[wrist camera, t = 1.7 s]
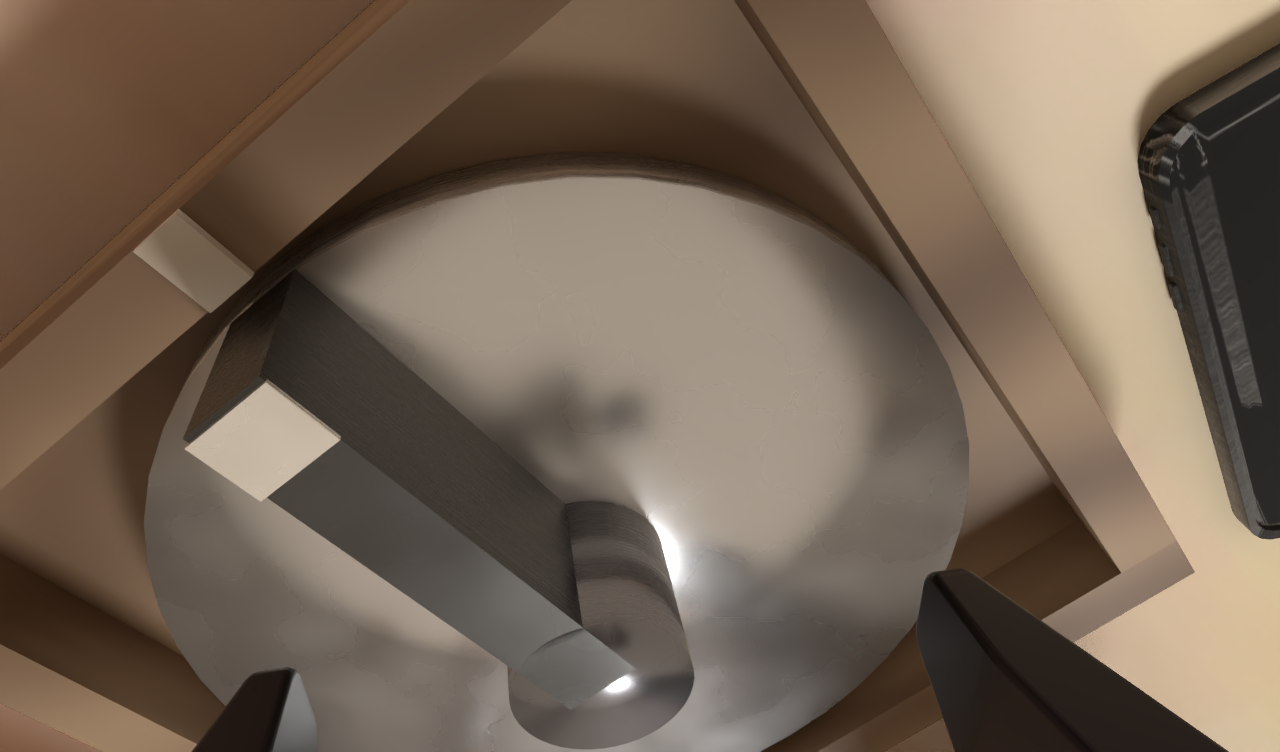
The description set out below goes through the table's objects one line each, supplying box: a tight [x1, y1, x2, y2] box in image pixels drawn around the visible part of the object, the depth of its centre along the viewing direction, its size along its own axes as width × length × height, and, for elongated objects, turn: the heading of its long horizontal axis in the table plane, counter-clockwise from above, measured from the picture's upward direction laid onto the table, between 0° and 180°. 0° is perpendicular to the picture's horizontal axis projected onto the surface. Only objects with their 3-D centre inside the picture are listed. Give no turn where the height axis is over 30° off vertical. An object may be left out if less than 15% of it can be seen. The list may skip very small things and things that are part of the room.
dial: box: [144, 152, 969, 752], centre depth 20 cm, size 18×18×5 cm
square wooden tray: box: [0, 0, 1194, 752], centre depth 22 cm, size 22×22×4 cm
